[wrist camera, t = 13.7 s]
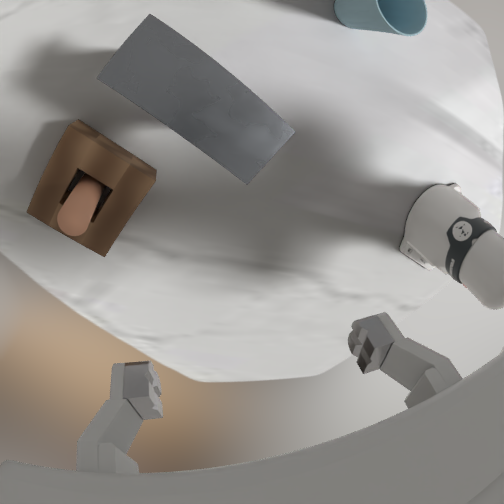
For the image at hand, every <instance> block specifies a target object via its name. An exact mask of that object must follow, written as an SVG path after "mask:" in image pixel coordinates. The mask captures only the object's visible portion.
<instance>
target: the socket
mask: <svg viewBox="0 0 504 504" xmlns="http://www.w3.org/2000/svg"><path fill="white" fill-rule="evenodd" d="M79 169H80V170H82V171H84V172H85V173H87V174H88V175H90V176H92V177H93V178H95V179H97V180H98V181H100V182H101V183H103V184H105V185H106V186H108V187H109V188H111V190H110V191H109V193H108V195H107V196H106V198H105V199H104V201H103V203H102V204H101V206H100V208H97V207H96V208H95V211H94V213H93V215H92V218H91V220H90V223H89V225H88V228H87V230H86V231H85V232H84V233H83V234H81V235H79V236H70V235H67V234H66V233H64V232H63V231H62V230H61V229H60V227H59V225H58V222H57V216H58V213H59V211H60V209H61V208H62V206H63V205H64V203H65V201H66V200H67V198H68V197H69V195H70V194H71V191H69V190H68V189H69V187H70V185H71V183H72V181H73V180H74V178H75V176H76V174H77V172H78V171H79ZM155 181H156V169H154V168H153V167H151V166H150V165H148V164H147V163H145V162H144V161H142V160H141V159H139V158H137V157H136V156H134V155H133V154H131V153H130V152H128V151H127V150H125V149H124V148H122V147H121V146H119V145H118V144H116V143H114V142H113V141H111V140H110V139H108V138H107V137H105V136H104V135H102V134H101V133H99V132H98V131H96V130H94V129H93V128H91V127H90V126H88V125H87V124H85V123H84V122H82V121H80V120H79V119H78V120H76V121H75V122H73V123H72V124H70V125H68V127H67V129H66V131H65V132H64V134H63V136H62V138H61V140H60V141H59V143H58V145H57V147H56V149H55V151H54V153H53V155H52V157H51V159H50V161H49V163H48V165H47V167H46V169H45V171H44V173H43V175H42V177H41V179H40V181H39V184H38V186H37V188H36V190H35V193H34V195H33V198H32V200H31V202H30V205H29V207H28V210H27V213H28V214H30V215H32V216H33V217H35V218H37V219H38V220H40V221H42V222H43V223H45V224H47V225H48V226H50V227H52V228H53V229H55V230H57V231H59V232H60V233H62V234H64V235H65V236H67V237H69V238H71V239H72V240H74V241H76V242H78V243H80V244H81V245H83V246H85V247H87V248H89V249H90V250H92V251H94V252H96V253H98V254H100V255H101V256H103V257H105V256H106V254H107V253H108V251H109V249H110V248H111V246H112V245H113V243H114V241H115V240H116V238H117V237H118V235H119V234H120V232H121V231H122V229H123V227H124V226H125V224H126V223H127V221H128V220H129V218H130V217H131V215H132V214H133V213H134V211H135V210H136V208H137V207H138V205H139V204H140V202H141V201H142V200H143V198H144V197H145V195H146V194H147V192H148V191H149V190H150V188H151V187H152V186H153V184H154V183H155Z"/></svg>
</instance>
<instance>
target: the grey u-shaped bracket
mask: <svg viewBox="0 0 504 504" xmlns="http://www.w3.org/2000/svg"><path fill="white" fill-rule="evenodd" d="M97 79H98V80H100V81H101V82H103V83H104V84H106V85H108V86H109V87H111V88H112V89H114V90H115V91H117V92H118V93H120V94H121V95H123V96H124V97H126V98H127V99H129V100H130V101H132V102H133V103H135V104H136V105H138V106H139V107H141V108H142V109H144V110H145V111H146V112H148V113H149V114H151V115H152V116H154V117H155V118H157V119H158V120H159V121H161V122H162V123H164V124H165V125H167V126H168V127H169V128H171V129H172V130H174V131H175V132H176V133H178V134H179V135H181V136H182V137H183V138H185V139H186V140H188V141H189V142H190V143H192V144H193V145H195V146H196V147H197V148H199V149H200V150H201V151H203V152H204V153H205V154H207V155H208V156H210V157H211V158H212V159H214V160H215V161H216V162H218V163H219V164H220V165H222V166H223V167H224V168H226V169H227V170H228V171H230V172H231V173H232V174H234V175H235V176H236V177H238V178H239V179H240V180H241V181H243V182H244V183H245V184H248V183H249V182H250V181H251V180H252V179H253V178H254V177H255V175H256V174H257V173H258V172H259V171H260V170H261V169H262V168H263V167H264V165H265V164H266V163H267V162H268V161H269V160H270V159H271V158H272V157H273V156H274V155H275V153H276V152H277V151H278V150H279V149H280V148H281V147H282V146H283V145H284V144H285V143H286V142H287V140H288V139H289V138H290V137H291V136H292V135H293V134H294V133H295V131H294V130H293V129H292V128H291V127H290V126H289V125H288V124H287V123H286V122H285V121H284V120H283V119H282V118H281V117H280V116H279V115H278V114H277V113H275V112H274V111H273V110H272V109H271V108H270V107H269V106H268V105H267V104H266V103H265V102H263V101H262V100H261V99H260V98H259V97H258V96H257V95H256V94H254V93H253V92H252V91H251V90H250V89H249V88H248V87H246V86H245V85H244V84H243V83H242V82H241V81H239V80H238V79H237V78H236V77H235V76H233V75H232V74H231V73H230V72H229V71H227V70H226V69H225V68H224V67H222V66H221V65H220V64H219V63H218V62H216V61H215V60H214V59H212V58H211V57H210V56H209V55H207V54H206V53H205V52H203V51H202V50H201V49H199V48H198V47H197V46H196V45H194V44H193V43H191V42H190V41H189V40H187V39H186V38H185V37H183V36H182V35H180V34H179V33H178V32H176V31H175V30H173V29H172V28H171V27H169V26H168V25H166V24H165V23H163V22H162V21H160V20H159V19H157V18H156V17H154V16H153V15H151V14H149V15H148V16H147V17H146V18H145V19H144V21H143V22H142V23H141V24H140V25H139V26H138V27H137V28H136V29H135V30H134V32H133V33H132V34H131V35H130V36H129V37H128V39H127V40H126V41H125V42H124V43H123V45H122V46H121V47H120V48H119V49H118V51H117V52H116V53H115V54H114V56H113V57H112V58H111V60H110V61H109V62H108V63H107V65H106V66H105V67H104V69H103V70H102V71H101V73H100V74H99V76H98V77H97Z"/></svg>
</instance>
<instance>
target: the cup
mask: <svg viewBox="0 0 504 504" xmlns="http://www.w3.org/2000/svg"><path fill="white" fill-rule="evenodd" d="M334 11H335V14H336V16H337V18H338V19H339V21H340V22H341V23H342V24H344V25H345V26H347V27H349V28H352V29H361V30H371V31H379V32H386V33H393V34H399V35H404V36H414V35H417V34H419V33H420V32H421V31H422V30H423V29H424V27H425V25H426V22H427V8H426V4H425V1H424V0H336V1H335V3H334Z"/></svg>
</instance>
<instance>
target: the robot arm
mask: <svg viewBox="0 0 504 504" xmlns="http://www.w3.org/2000/svg"><path fill="white" fill-rule="evenodd" d="M400 251H401V252H402V253H404V254H405V255H407V256H408V257H410V258H411V259H413V260H414V261H416V262H417V263H419V264H420V265H421V266H423V267H424V268H426V269H427V270H429V271H430V270H432V269H434V268H436V267H437V268H438V269H439V270H440V271H442V272H443V273H444V274H449V275H451V277H452V278H453V279H454V280H456V281H458V282H459V283H461V284H463V285H464V286H465V287H466V288H468V290H469V291H470V292H471V293H472V294H473V295H474V296H475V297H476V298H477V299H478V300H479V301H480V302H481V303H482V304H483V305H484V306H485V307H487V308H489V309H501V308H503V307H504V238H503V237H502V236H500V235H499V234H498V233H497V231H496V229H495V228H494V227H493V226H492V225H491V224H490V223H489V222H488V221H485V220H484V219H483V218H481V213H480V209H479V208H478V207H477V206H476V205H475V204H473V203H472V202H471V201H470V200H468V199H467V198H466V197H465V196H463V195H462V193H461V187H460V186H459V185H458V184H452V185H450V186H446V185H441V184H440V185H435V186H433V187H431V188H429V189H428V190H426V191H425V192H424V193H423V194H422V195H421V196H420V197H419V198H418V199H417V201H416V202H415V204H414V205H413V207H412V209H411V211H410V213H409V215H408V218H407V222H406V226H405V235H404V238H403V240H402V243H401V245H400ZM351 327H352V329H353V331H352V332H351V333H350V334H349V337H348V345H349V348H350V351H351V353H352V354H353V355H354V356H356V357H358V359H357V364H358V365H359V367H360V369H361V371H362V373H363V374H365V373H368V372H371V371H374V370H377V369H380V370H381V371H383V372H384V373H385V374H387V375H388V376H390V377H391V378H393V379H394V380H395V381H397V382H398V383H400V384H401V385H403V386H404V387H406V388H407V389H408V390H410V391H411V392H410V393H409V395H408V396H407V397H406V399H405V403H406V405H407V407H408V409H407V410H405V411H403V412H401V413H399V414H396V415H394V416H392V417H390V418H387V419H385V420H383V421H380V422H378V423H376V424H373V425H371V426H368V427H366V428H363V429H361V430H358V431H355V432H353V433H350V434H347V435H345V436H342V437H339V438H336V439H333V440H330V441H327V442H324V443H321V444H318V445H314V446H311V447H308V448H304V449H301V450H297V451H293V452H290V453H286V454H282V455H278V456H273V457H270V458H265V459H260V460H255V461H250V462H245V463H240V464H234V465H228V466H222V467H215V468H207V469H199V470H189V471H179V472H165V473H139V470H138V464H137V463H136V462H135V461H134V460H132V459H131V458H129V457H128V456H127V455H126V454H127V452H128V450H129V448H130V446H131V444H132V442H133V440H134V438H135V436H136V434H137V432H138V430H139V428H140V426H141V424H142V422H143V420H145V419H155V418H163V410H162V402H161V401H160V399H159V397H160V395H161V385H160V380H159V376H158V374H157V372H156V371H154V370H153V364H152V362H151V361H143V362H130V363H117V364H113V367H112V374H111V389H110V400H106V401H105V403H104V404H103V406H102V407H101V408H100V410H99V411H98V413H97V414H96V416H95V417H94V418H93V420H92V421H91V422H90V424H89V425H88V427H87V428H86V430H85V431H84V432H83V434H82V435H81V437H80V438H79V440H78V441H77V469H76V471H73V470H64V469H56V468H49V467H43V466H36V465H31V464H26V463H21V462H17V461H11V460H6V461H4V462H3V463H2V464H1V465H0V504H504V347H503V349H502V351H501V353H500V354H499V355H498V356H497V357H495V358H494V359H492V360H491V361H490V362H488V363H487V364H485V365H484V366H482V367H481V368H479V369H478V370H476V371H475V372H473V373H472V374H470V375H468V376H467V377H465V378H464V379H462V377H461V376H460V374H459V373H458V371H457V370H456V368H455V367H454V365H453V364H452V363H451V361H450V360H449V359H448V358H447V357H445V356H443V355H441V354H439V353H437V352H435V351H433V350H431V349H429V348H427V347H425V346H423V345H421V344H419V343H417V342H415V341H413V340H411V339H409V338H404V336H403V335H402V333H401V332H400V330H399V329H398V328H397V326H396V325H395V323H394V322H393V321H392V319H391V318H390V316H389V315H388V314H387V313H386V312H383V313H380V314H377V315H372V316H369V317H366V318H362V319H359V320H356V321H354V322H353V323H352V326H351Z"/></svg>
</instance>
